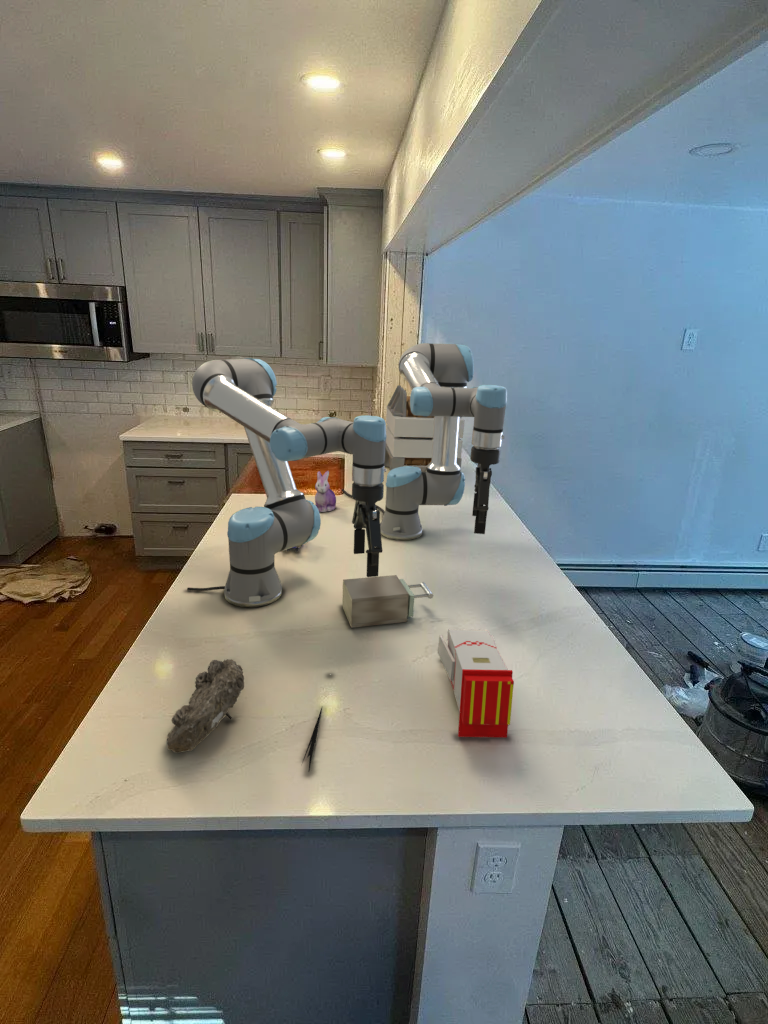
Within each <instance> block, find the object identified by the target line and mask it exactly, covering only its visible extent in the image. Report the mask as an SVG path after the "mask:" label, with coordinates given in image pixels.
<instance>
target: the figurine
mask: <svg viewBox="0 0 768 1024" xmlns="http://www.w3.org/2000/svg"><path fill="white" fill-rule="evenodd" d="M329 475H330V471H329V470H326V471H325V472H324V473H323V474H322V473H321V471H320V470H318V471H317V473H316V478H317V480H316V483H315V485H314V488H315V491H316V493H315V495H314V502H315V503H314V504H315V505H316V507H317V508H318V510H319V513H326V512H331V511H334V510H335V509H336V505H337V497H336V493H335V492H334V490H333V489H331V486H330V483H329V480H328V479H329Z"/></svg>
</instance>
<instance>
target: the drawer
mask: <svg viewBox="0 0 768 1024" xmlns="http://www.w3.org/2000/svg"><path fill="white" fill-rule="evenodd" d="M399 580H400V581H401V583H402V584H403V586H404V587H405V589H406V590H407V592H408V593H409V597H408V612H407V617H409V618H410V617H414V611H415V610H414V609H415V599H421V598H422V599H423V598H428V599H433V598H434V593H433V592H432V591H431V589H430V588H429V587H428V585H427V584H426V583H425V581H421V582H420V583H418V584H407V582H406V581H405V579H404V578H399ZM415 588H420V589H421V590H422V591H423V593H424V594H414V593H413V591H412V590H411V589H415Z"/></svg>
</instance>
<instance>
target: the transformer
mask: <svg viewBox="0 0 768 1024" xmlns="http://www.w3.org/2000/svg"><path fill="white" fill-rule="evenodd" d="M407 394H408V393H407V390H406V389H404V388H403V387H402V385H399V384H398V385H397V386H396V388H395V390H394V392H393V394H392V395H391V398H390V400H389V402H388V404H387V405H386V413H385V414H386V415H385V423H386V436H387V437H386V445H385V460H384V462H385V464H384V467H388V468H389V471H391V470H392V469H394V468H398V467H403V466H412V467H414V466H415V467H427V465H428V464H429V463H431V460H432V444H433V427H434V416H426V417H424V416H418V415H413V414H412V412H411V407H410V396H411V395H407ZM464 429H465V419H464V418H463V417H460V420H459V433H458V447H457V461H456V463H457V465H458V466H459V467H460V472H462V461H463V460H462V453H463V442H464V441H463V440H462V439H463V438H464V431H465V430H464Z"/></svg>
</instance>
